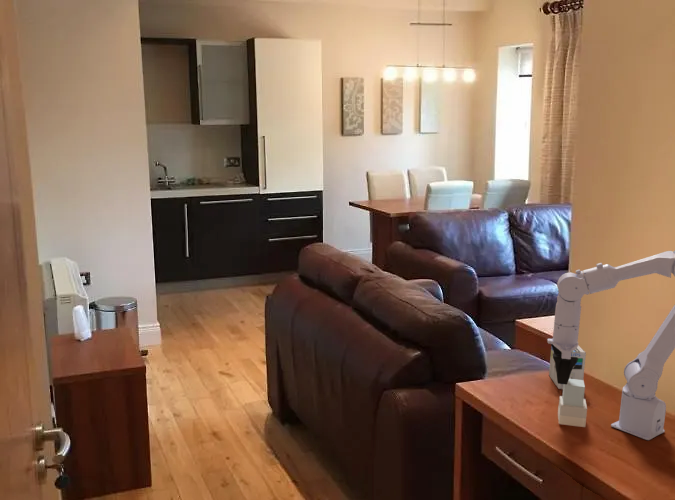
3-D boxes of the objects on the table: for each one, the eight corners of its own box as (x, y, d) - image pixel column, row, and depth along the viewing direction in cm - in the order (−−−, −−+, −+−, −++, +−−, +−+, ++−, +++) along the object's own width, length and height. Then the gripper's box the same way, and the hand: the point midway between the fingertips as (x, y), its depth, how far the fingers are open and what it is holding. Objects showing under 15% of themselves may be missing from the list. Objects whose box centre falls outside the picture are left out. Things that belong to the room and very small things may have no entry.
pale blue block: (581, 399, 180) (583, 380, 179) (582, 406, 176) (584, 387, 175) (562, 397, 181) (564, 377, 180) (563, 404, 177) (565, 384, 176)
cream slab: (582, 418, 182) (583, 408, 181) (585, 428, 176) (586, 418, 175) (557, 415, 183) (558, 405, 182) (558, 425, 177) (559, 415, 177)
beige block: (584, 408, 181) (585, 399, 181) (586, 418, 175) (587, 408, 175) (558, 405, 182) (559, 395, 182) (559, 415, 177) (560, 405, 176)
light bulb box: (583, 390, 198) (587, 352, 196) (557, 389, 198) (561, 351, 196) (571, 375, 209) (575, 339, 207) (547, 375, 209) (550, 338, 207)
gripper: (548, 313, 183) (543, 365, 186) (550, 330, 169) (545, 386, 172) (577, 316, 181) (572, 368, 184) (582, 334, 168) (576, 390, 170)
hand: (561, 377), depth 178 cm, fingers open, 7 cm apart
